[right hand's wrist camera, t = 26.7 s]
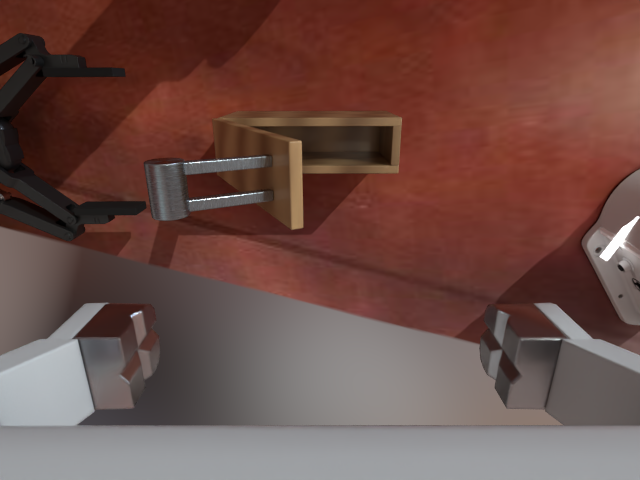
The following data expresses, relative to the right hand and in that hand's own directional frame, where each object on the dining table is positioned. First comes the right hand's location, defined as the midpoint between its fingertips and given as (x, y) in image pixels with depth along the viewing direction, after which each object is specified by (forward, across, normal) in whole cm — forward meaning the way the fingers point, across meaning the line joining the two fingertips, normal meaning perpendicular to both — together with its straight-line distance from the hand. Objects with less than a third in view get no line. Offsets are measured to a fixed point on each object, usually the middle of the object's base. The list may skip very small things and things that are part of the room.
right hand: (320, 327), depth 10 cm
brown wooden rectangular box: (+41, +1, 0) cm, 41 cm away
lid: (+23, +5, 0) cm, 24 cm away
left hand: (+34, +19, 0) cm, 39 cm away
